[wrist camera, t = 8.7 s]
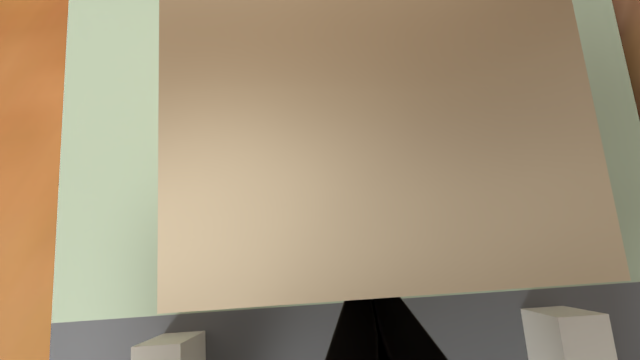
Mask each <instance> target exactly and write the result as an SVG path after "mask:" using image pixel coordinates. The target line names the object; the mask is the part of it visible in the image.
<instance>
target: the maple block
mask: <svg viewBox="0 0 640 360" xmlns="http://www.w3.org/2000/svg"><path fill="white" fill-rule="evenodd" d="M620 281H631V278H630V273H629V268H628V264H627V259H626V254H625V249H624V245H623V240H622V235H621V231H620V226H619V221H618V216H617V212H616V207H615V202H614V197H613V193H612V188H611V183H610V178H609V174H608V169H607V164H606V159H605V155H604V150H603V145H602V141H601V136H600V131H599V126H598V122H597V117H596V112H595V107H594V103H593V98H592V93H591V88H590V84H589V79H588V74H587V69H586V65H585V60H584V55H583V51H582V46H581V41H580V36H579V32H578V27H577V22H576V17H575V13H574V8H573V3H572V0H159V101H158V255H157V314H164V313H178V312H192V311H207V310H221V309H235V308H249V307H264V306H278V305H292V304H306V303H321V302H335V301H349V300H363V299H378V298H392V297H406V296H420V295H435V294H449V293H463V292H477V291H492V290H506V289H520V288H534V287H549V286H563V285H577V284H591V283H606V282H620Z"/></svg>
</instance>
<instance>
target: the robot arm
mask: <svg viewBox="0 0 640 360" xmlns="http://www.w3.org/2000/svg"><path fill="white" fill-rule="evenodd" d="M325 360H448V359H447V357H446V356H445V355H444V353H443V352H442V351H441V349H440V348H439V347H438V345H437V344H436V343H435V342H434V340H433V339H432V338H431V336H430V335H429V334H428V332H427V331H426V330H425V329H424V327H423V326H422V325H421V323H420V322H419V321H418V319H417V318H416V317H415V315H414V314H413V313H412V312H411V310H410V309H409V308H408V306H407V305H406V304H405V302H404V301H403V300H402V298H401V297H392V298H378V299H363V300H349V301H344V303H343V306H342V309H341V312H340V315H339V318H338V321H337V324H336V327H335V330H334V333H333V336H332V340H331V343H330V346H329V349H328V352H327V355H326V358H325Z"/></svg>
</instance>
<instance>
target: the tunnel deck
mask: <svg viewBox="0 0 640 360" xmlns="http://www.w3.org/2000/svg"><path fill="white" fill-rule="evenodd" d="M572 3H573V8H574V13H575V17H576V22H577V27H578V32H579V36H580V41H581V46H582V51H583V55H584V60H585V65H586V69H587V74H588V79H589V84H590V88H591V93H592V98H593V103H594V107H595V112H596V117H597V122H598V126H599V131H600V136H601V141H602V145H603V150H604V155H605V159H606V164H607V169H608V174H609V178H610V183H611V188H612V193H613V197H614V202H615V207H616V212H617V216H618V221H619V226H620V231H621V235H622V240H623V245H624V249H625V254H626V259H627V264H628V268H629V273H630V278H631V281H620V282H606V283H591V284H577V285H563V286H549V287H534V288H520V289H506V290H492V291H477V292H463V293H449V294H435V295H420V296H406V297H401V298H402V300H403V301H404V302H405V304H406V305H407V306H408V308H409V309H410V310H411V312H412V313H413V314H414V315H415V317H416V318H417V319H418V321H419V322H420V323H421V325H422V326H423V327H424V329H425V330H426V331H427V332H428V334H429V335H430V336H431V338H432V339H433V340H434V342H435V343H436V344H437V345H438V347H439V348H440V349H441V351H442V352H443V353H444V355H445V356H446V357H447V359H448V360H640V120H639V116H638V112H637V107H636V103H635V99H634V94H633V90H632V86H631V82H630V77H629V73H628V69H627V64H626V60H625V56H624V51H623V47H622V43H621V38H620V34H619V30H618V26H617V21H616V17H615V13H614V8H613V4H612V0H572ZM158 101H159V0H69V7H68V25H67V44H66V62H65V81H64V99H63V118H62V136H61V155H60V173H59V192H58V210H57V229H56V247H55V266H54V284H53V303H52V322H51V340H50V359H49V360H325V358H326V355H327V352H328V349H329V346H330V343H331V340H332V336H333V333H334V330H335V327H336V324H337V321H338V318H339V315H340V312H341V309H342V306H343V303H344V301H335V302H321V303H306V304H292V305H278V306H264V307H249V308H235V309H221V310H207V311H192V312H178V313H164V314H157V255H158Z"/></svg>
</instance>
